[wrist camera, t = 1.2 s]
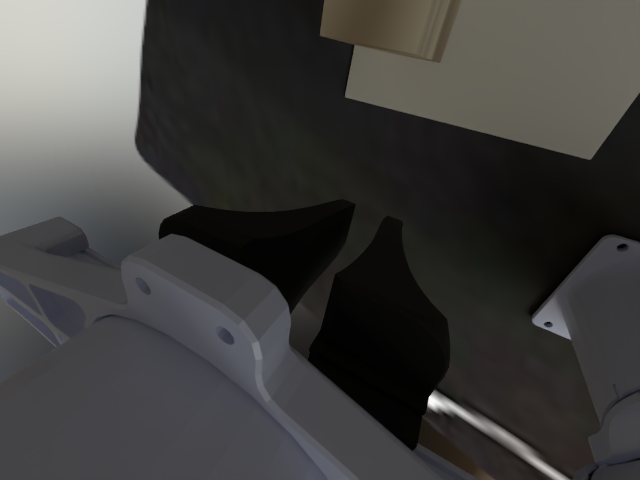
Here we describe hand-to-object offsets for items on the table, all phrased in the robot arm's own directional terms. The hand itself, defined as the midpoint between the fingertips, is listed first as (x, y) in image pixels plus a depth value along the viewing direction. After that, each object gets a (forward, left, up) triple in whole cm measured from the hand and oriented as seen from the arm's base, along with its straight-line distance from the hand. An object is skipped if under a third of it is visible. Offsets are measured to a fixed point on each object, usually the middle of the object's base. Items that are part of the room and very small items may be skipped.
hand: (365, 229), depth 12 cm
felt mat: (-1, -9, -10) cm, 14 cm away
